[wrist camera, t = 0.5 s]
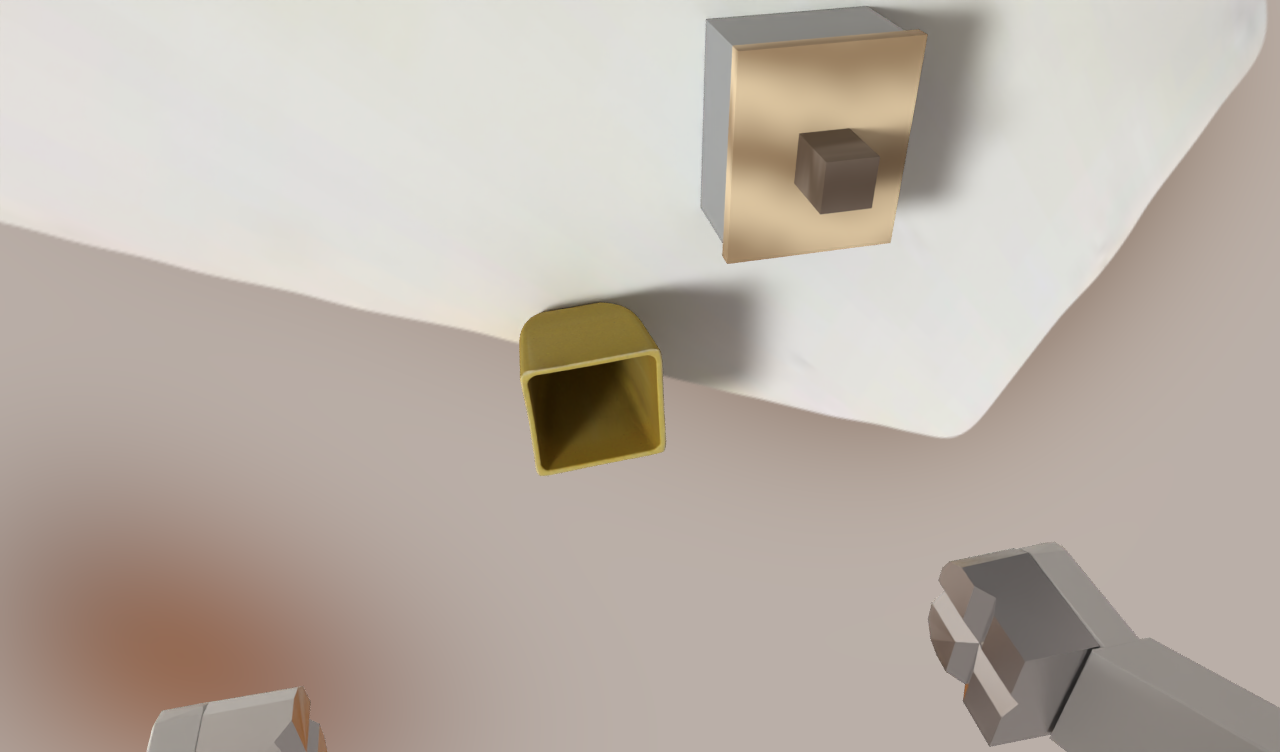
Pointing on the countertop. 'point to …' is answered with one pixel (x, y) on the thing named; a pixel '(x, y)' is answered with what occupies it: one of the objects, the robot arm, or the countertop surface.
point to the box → (719, 77)
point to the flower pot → (591, 387)
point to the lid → (818, 142)
